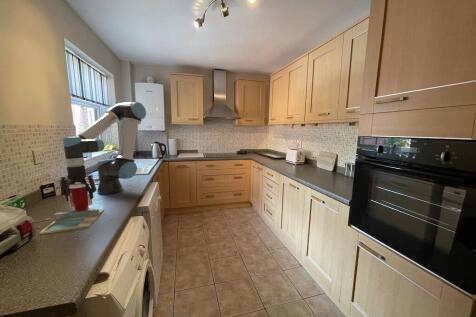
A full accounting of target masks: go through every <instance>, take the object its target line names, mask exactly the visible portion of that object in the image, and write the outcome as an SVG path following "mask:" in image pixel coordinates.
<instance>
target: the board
mask: <svg viewBox="0 0 476 317" xmlns="http://www.w3.org/2000/svg"><path fill="white" fill-rule="evenodd" d="M104 211H105V209H99V215H98V216H89V217H80V218H71V219H62V220H55V219H54V221H53V222H51V223H50V224H48V225H47V226H46V227H45V228H43V229H42V230H41V231H39V232H38V234H39V235H46V234H54V233H62V232H70V231H77V230H78V231H79V230H86V229H90V227H91V226H92V225H93V224H94V222H95V221H97V219H98V218H100V216H101V215H102V213H103V212H104Z"/></svg>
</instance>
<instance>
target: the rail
mask: <svg viewBox="0 0 476 317" xmlns="http://www.w3.org/2000/svg"><path fill="white" fill-rule="evenodd" d="M99 210H100V209H99V208H94V209H93V208H92V209H87V210H82V211H75V210H73V211H65V212H56V213H54V218H55V219H54V221H55V220H62V219H71V218H80V217H89V216H98V215H99Z"/></svg>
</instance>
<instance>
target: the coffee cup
mask: <svg viewBox="0 0 476 317" xmlns="http://www.w3.org/2000/svg"><path fill="white" fill-rule="evenodd" d="M87 183H88V182H87ZM87 183H86V184H87ZM68 187H69V186H68ZM69 188H70V191H71V196H72V200H73V204H74V206H73V208H74V211H82V210H89V203H88V195H87V194H89V193H88V191H87V190H86V187H85V185H84V184H81V183H78V182H77V183H74V184H72V185H70V187H69Z"/></svg>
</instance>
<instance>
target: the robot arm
mask: <svg viewBox="0 0 476 317" xmlns="http://www.w3.org/2000/svg"><path fill="white" fill-rule="evenodd" d="M146 110H147V109H146V108H145V106H144V104H142V103H141V102H140V101H139V102H138V101H131V102H119V103H117V104H115V105H114V106H111V107H110V108H109V109H107V110H106V111H105V114H104V115H102V116H101V117H100V118H99V119H97V120H96V121H94V122H93V123H92V124H91V125H89V126H88V127H86V128H85V129H84V130H83V131H82V132H80V133H79V134H78V135H76V136H64V137H63V138H62V142H63V143H62V145H63V151H64V156H65V165H66V171H67V175H64V176H62V177H61V178H60V179H61V189H60V195H61V196H65V198H66V202H68V206H69V208H72V207H74V204H73V200H72V196H71V191H70V188H69V187H70V185H72V184H74V183H77V182H78V183H81V184H84V185H85V187H86V190H87V191H88V194H87V195H88V207H89V206H91V205H93V199H94V193H96V192H97V194H98V195H111V194H117V193H120V192H121V191H123V184H122V183H121V181H120V179H121V180H123V179H125V180H129V179H132V178H133V177H134V176H135V175H136V174H137V172H138V166H137V164H136V163H135V161H136V160H135V159H134V152H135V146H136V145H135V144H136V139H137V133H138V126H139V125H140V124H141V123H142V120H144V119H145V118H146V116H147V111H146ZM122 120H123V122H124V123H123V128H122V135H121V140H120V143H119V144H120V145H119V151H118V155H117V156H116V157H115V158H107V159H102V160H101V159H100V160H98V161H97V162H96V165H97V166H96V167H97V173H98V174H97V175H98V180H99V181H98V186H97V187H96V184H95V181H94V178H93V177H94V175H93V174H87V172H86V167H85V158H84V154H89V153H99V152H102V151H104V150H105V142H104V140H102V139H100V138H98V137H99V136H101V135H102V134H103V133H105V132H106V130H108V129H109V128H110V127H111V126H113V125H114V124H115V123H116V124H117V123H119V122H120V121H122ZM86 178H87V179H86ZM68 180H69V185H68ZM87 180H88V181H87ZM86 183H87V184H86ZM67 186H68V187H67Z"/></svg>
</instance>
